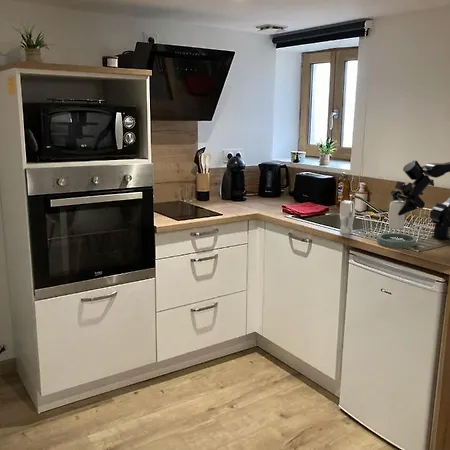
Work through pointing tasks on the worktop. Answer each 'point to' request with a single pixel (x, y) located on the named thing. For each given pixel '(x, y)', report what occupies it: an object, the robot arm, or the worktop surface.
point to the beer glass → (347, 216)
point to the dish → (389, 242)
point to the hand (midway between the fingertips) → (394, 213)
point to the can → (396, 214)
